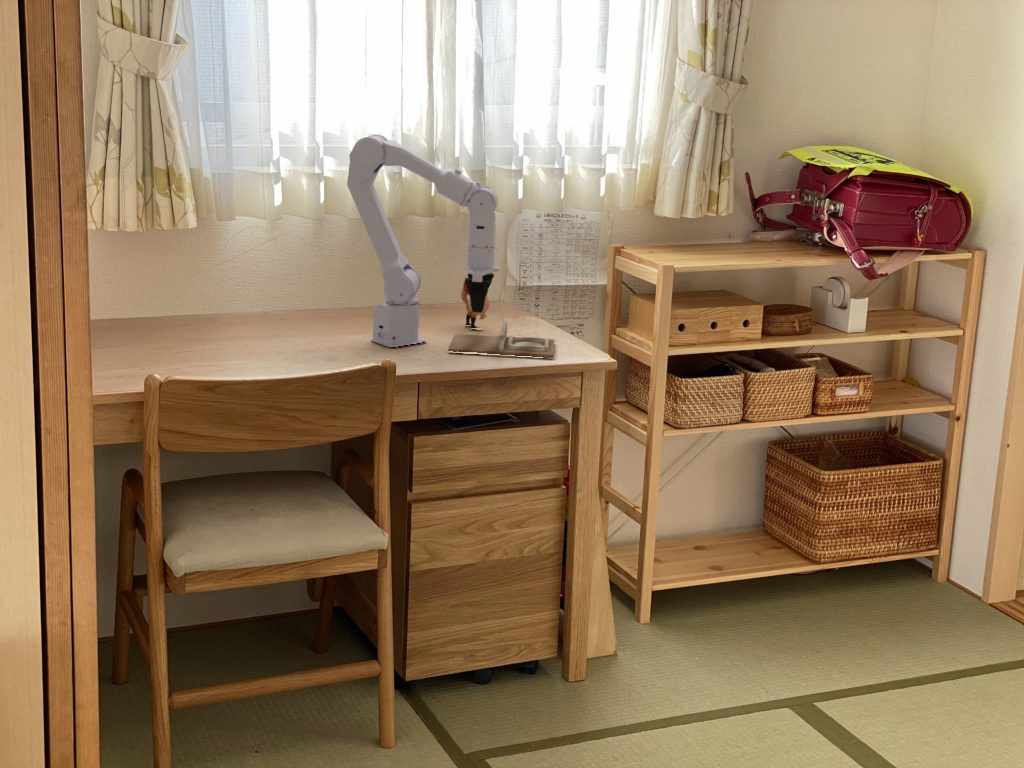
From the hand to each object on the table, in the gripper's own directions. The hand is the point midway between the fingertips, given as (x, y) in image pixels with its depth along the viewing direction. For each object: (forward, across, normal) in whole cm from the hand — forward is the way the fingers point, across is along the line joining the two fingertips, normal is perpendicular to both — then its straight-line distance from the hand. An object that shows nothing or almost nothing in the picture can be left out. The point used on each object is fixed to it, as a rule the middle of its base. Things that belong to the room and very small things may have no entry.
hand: (478, 309), depth 255 cm
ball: (-1, 0, 0) cm, 1 cm away
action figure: (+8, +18, +2) cm, 20 cm away
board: (+8, 0, -6) cm, 10 cm away
